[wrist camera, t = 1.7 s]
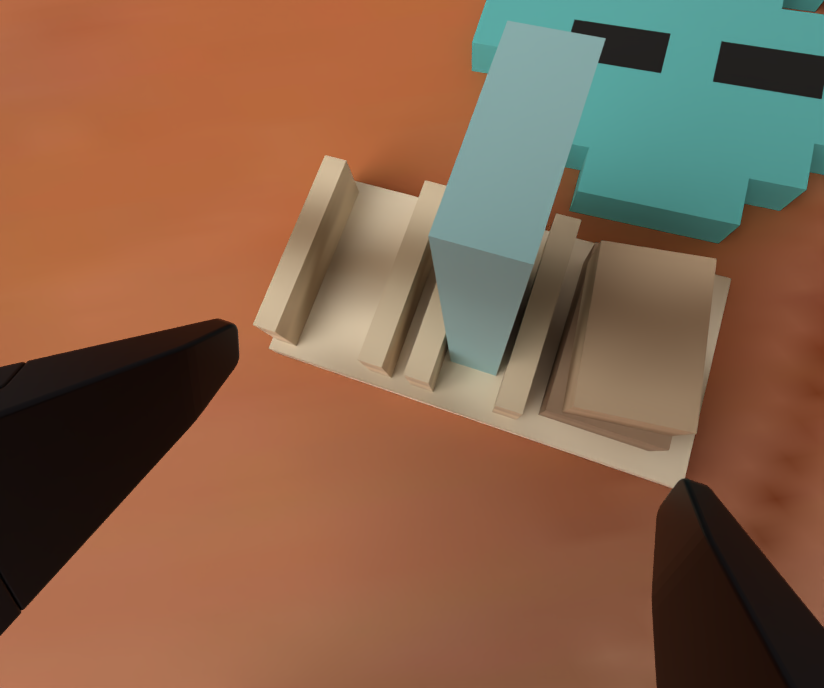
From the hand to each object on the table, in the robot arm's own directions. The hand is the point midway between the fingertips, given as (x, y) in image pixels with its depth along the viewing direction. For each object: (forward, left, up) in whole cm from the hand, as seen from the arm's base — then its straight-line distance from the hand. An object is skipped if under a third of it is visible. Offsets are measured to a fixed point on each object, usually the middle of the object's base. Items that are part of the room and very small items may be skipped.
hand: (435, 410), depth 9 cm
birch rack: (+5, +1, -12) cm, 13 cm away
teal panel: (+5, +1, -11) cm, 12 cm away
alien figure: (+22, -1, -12) cm, 26 cm away
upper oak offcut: (+6, -4, -9) cm, 11 cm away
